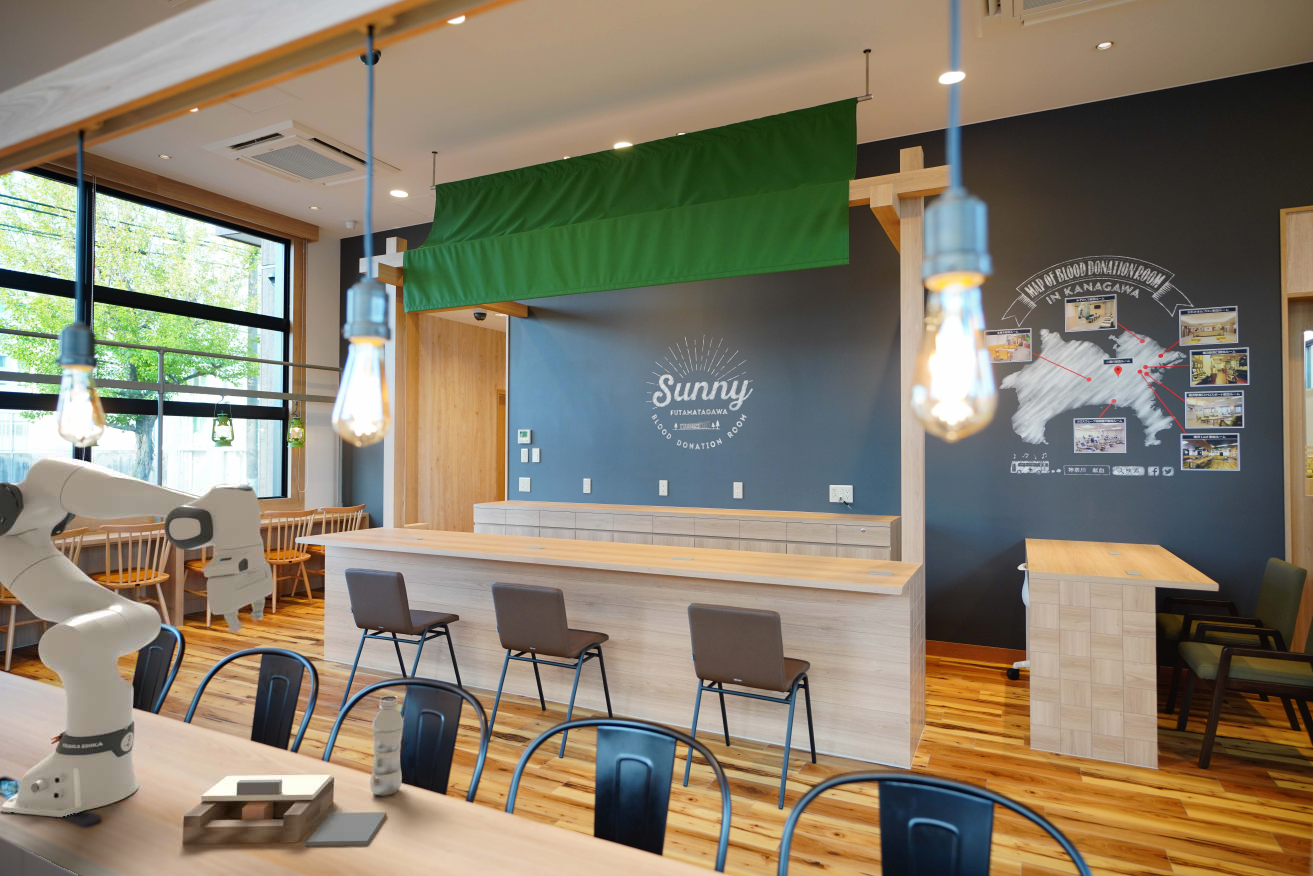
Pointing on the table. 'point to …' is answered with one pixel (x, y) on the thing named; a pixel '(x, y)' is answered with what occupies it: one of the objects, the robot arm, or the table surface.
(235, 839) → the wooden box
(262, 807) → the block
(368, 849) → the table surface
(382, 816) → the coaster
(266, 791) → the lid
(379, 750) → the plastic bottle
